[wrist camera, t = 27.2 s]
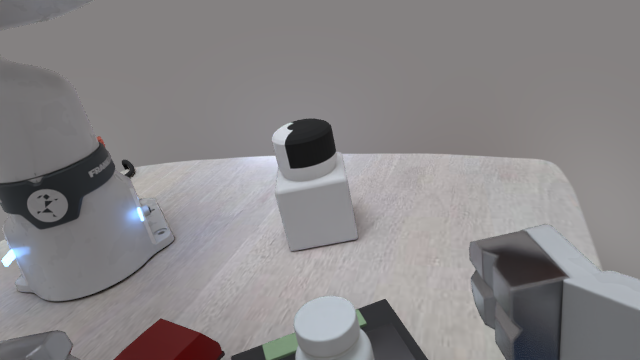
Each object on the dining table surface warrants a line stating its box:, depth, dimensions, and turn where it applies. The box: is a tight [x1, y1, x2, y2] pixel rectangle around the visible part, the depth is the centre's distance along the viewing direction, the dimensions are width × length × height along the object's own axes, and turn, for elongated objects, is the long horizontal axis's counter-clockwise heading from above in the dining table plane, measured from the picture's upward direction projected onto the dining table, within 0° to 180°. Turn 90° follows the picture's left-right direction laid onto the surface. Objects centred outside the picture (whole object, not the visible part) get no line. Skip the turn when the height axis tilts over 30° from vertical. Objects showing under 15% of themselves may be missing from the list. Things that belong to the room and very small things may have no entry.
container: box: [272, 119, 358, 251], centre depth 51 cm, size 8×8×13 cm
